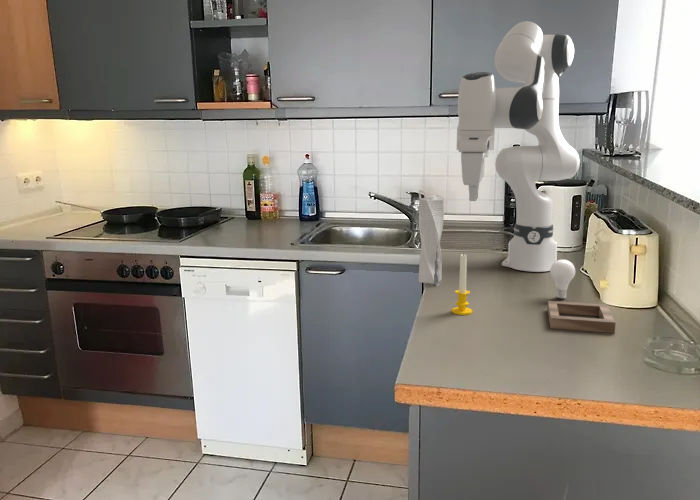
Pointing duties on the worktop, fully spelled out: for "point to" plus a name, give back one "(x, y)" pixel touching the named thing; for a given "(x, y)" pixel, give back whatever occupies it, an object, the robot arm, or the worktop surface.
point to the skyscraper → (430, 238)
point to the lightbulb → (562, 276)
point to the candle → (462, 290)
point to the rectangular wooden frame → (578, 323)
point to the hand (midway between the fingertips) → (473, 200)
